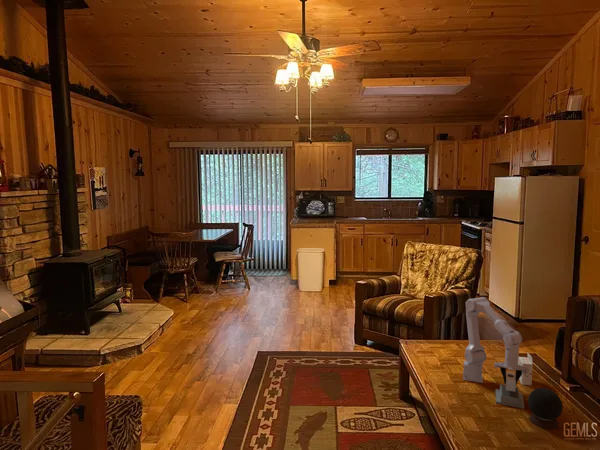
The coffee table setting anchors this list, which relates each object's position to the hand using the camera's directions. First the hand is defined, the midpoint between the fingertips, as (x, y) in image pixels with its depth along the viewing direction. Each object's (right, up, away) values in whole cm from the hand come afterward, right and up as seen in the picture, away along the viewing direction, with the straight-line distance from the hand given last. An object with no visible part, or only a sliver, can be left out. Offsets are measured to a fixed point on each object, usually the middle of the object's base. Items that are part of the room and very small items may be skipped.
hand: (510, 383), depth 204 cm
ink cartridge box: (+17, -6, +19) cm, 26 cm away
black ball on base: (+6, -10, -18) cm, 21 cm away
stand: (0, -8, +1) cm, 8 cm away
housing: (0, -1, 0) cm, 1 cm away
